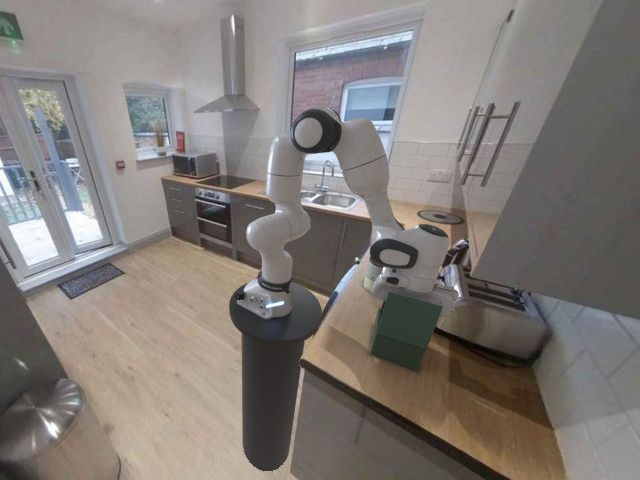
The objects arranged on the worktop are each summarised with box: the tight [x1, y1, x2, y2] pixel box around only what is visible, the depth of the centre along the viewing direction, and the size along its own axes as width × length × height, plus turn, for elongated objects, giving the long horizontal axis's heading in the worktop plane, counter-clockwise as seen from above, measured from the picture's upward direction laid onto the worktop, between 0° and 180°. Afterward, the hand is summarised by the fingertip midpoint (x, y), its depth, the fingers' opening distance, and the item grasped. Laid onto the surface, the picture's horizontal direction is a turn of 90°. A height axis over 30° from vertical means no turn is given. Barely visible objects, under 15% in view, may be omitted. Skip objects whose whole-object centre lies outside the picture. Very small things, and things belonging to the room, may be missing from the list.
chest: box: [369, 307, 426, 372], centre depth 82 cm, size 14×13×9 cm
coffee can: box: [362, 255, 383, 293], centre depth 110 cm, size 10×10×14 cm
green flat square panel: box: [377, 292, 443, 351], centre depth 72 cm, size 14×13×1 cm
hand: (403, 315), depth 79 cm, fingers closed on block, 4 cm apart
